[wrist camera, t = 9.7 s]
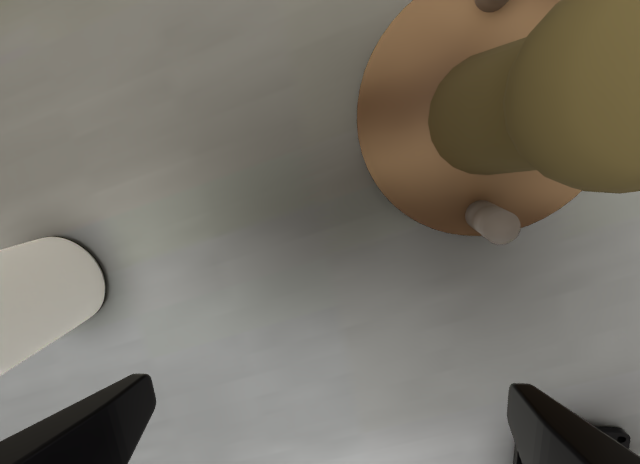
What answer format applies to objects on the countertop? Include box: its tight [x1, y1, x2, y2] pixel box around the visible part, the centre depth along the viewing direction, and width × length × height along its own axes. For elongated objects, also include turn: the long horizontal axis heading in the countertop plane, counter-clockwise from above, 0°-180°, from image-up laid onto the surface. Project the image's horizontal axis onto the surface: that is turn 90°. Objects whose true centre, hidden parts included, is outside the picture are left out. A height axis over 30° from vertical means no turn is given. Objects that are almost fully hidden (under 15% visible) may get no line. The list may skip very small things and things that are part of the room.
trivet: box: [357, 0, 582, 245], centre depth 16 cm, size 13×13×4 cm
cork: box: [428, 0, 640, 193], centre depth 12 cm, size 6×6×11 cm
